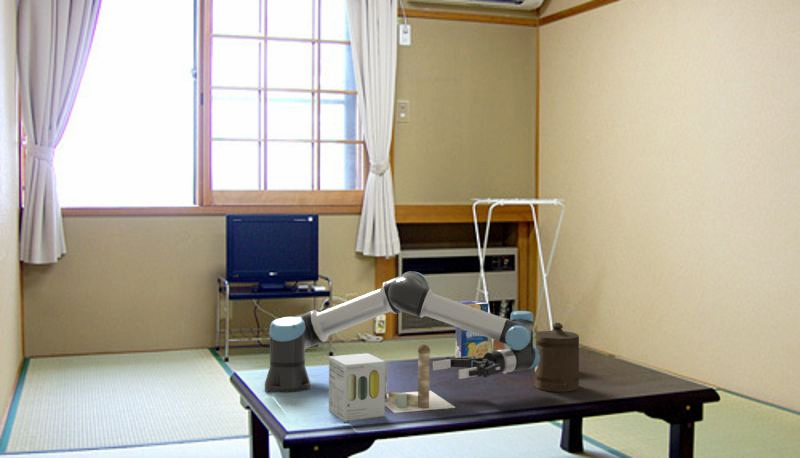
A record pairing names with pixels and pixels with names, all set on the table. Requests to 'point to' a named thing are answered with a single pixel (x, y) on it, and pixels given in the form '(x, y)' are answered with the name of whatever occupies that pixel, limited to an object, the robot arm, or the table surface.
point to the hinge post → (386, 383)
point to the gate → (419, 381)
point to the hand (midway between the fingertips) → (446, 370)
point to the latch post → (401, 400)
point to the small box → (499, 345)
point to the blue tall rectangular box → (471, 337)
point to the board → (434, 403)
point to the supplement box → (356, 386)
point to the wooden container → (557, 360)
